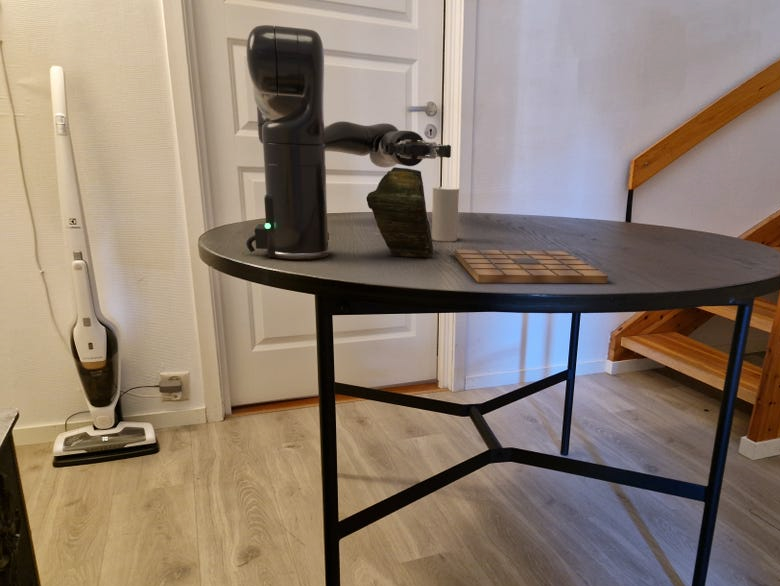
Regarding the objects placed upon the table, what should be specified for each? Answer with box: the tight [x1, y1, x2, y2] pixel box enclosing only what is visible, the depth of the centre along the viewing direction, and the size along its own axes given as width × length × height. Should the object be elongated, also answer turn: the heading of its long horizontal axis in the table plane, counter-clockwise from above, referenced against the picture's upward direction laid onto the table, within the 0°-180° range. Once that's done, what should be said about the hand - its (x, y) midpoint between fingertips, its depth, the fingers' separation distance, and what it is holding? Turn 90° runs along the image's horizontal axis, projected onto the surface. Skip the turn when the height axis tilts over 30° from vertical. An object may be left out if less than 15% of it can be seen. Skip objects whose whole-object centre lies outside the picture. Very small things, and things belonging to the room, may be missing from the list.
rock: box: [366, 166, 434, 259], centre depth 104 cm, size 12×9×15 cm
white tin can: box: [431, 186, 460, 242], centre depth 122 cm, size 5×5×10 cm
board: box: [454, 248, 609, 284], centre depth 100 cm, size 20×20×1 cm
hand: (427, 151), depth 128 cm, fingers open, 8 cm apart
